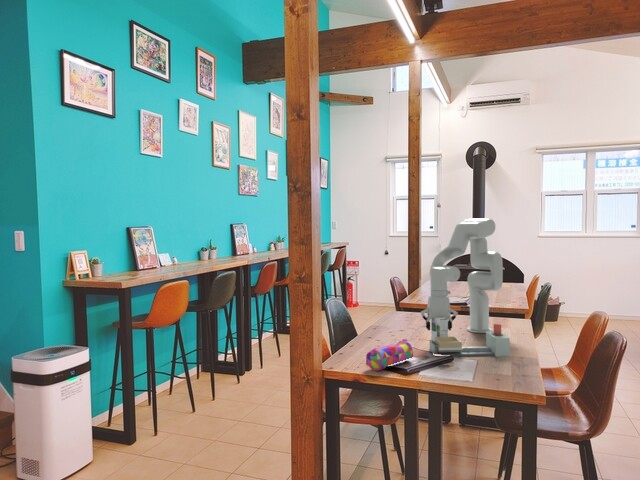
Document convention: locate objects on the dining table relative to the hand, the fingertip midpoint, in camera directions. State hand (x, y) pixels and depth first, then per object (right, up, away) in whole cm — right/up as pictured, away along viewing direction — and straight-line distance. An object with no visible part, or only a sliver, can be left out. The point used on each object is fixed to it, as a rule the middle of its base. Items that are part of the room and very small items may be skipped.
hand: (439, 329), depth 213 cm
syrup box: (+1, -8, +1) cm, 8 cm away
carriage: (+1, -7, -10) cm, 13 cm away
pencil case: (-27, -10, -25) cm, 38 cm away
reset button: (+23, -3, -11) cm, 26 cm away
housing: (+23, -8, -11) cm, 27 cm away
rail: (+7, -8, -11) cm, 15 cm away
